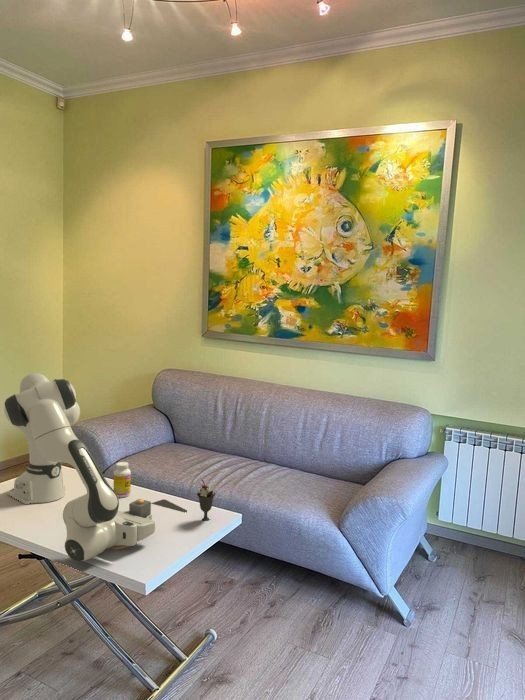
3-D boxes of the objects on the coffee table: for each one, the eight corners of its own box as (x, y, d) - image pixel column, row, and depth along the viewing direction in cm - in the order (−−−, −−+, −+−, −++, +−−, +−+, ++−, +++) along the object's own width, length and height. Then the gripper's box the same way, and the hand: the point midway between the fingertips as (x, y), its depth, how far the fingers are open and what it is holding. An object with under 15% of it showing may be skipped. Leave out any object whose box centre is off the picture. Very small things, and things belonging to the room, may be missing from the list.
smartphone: (173, 516, 185) (148, 503, 195) (173, 518, 185) (148, 506, 195) (188, 510, 191) (164, 498, 201) (188, 513, 191) (164, 500, 201)
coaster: (98, 546, 162) (98, 544, 162) (118, 535, 170) (118, 533, 170) (119, 553, 158) (119, 551, 158) (139, 542, 166) (139, 540, 166)
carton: (129, 531, 171) (129, 501, 170) (139, 526, 176) (139, 496, 175) (140, 535, 169) (141, 504, 168) (150, 529, 174) (150, 499, 173)
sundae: (196, 517, 186) (197, 477, 185) (214, 517, 187) (215, 477, 185) (195, 525, 180) (196, 483, 178) (214, 525, 180) (215, 484, 179)
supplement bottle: (125, 498, 201) (126, 467, 200) (110, 496, 202) (110, 465, 201) (133, 492, 207) (133, 462, 206) (118, 490, 209) (118, 460, 207)
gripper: (88, 531, 166) (118, 516, 178) (137, 547, 156) (165, 530, 169) (88, 513, 165) (118, 498, 177) (137, 527, 156) (165, 511, 168)
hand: (141, 514), depth 173 cm, fingers open, 6 cm apart
